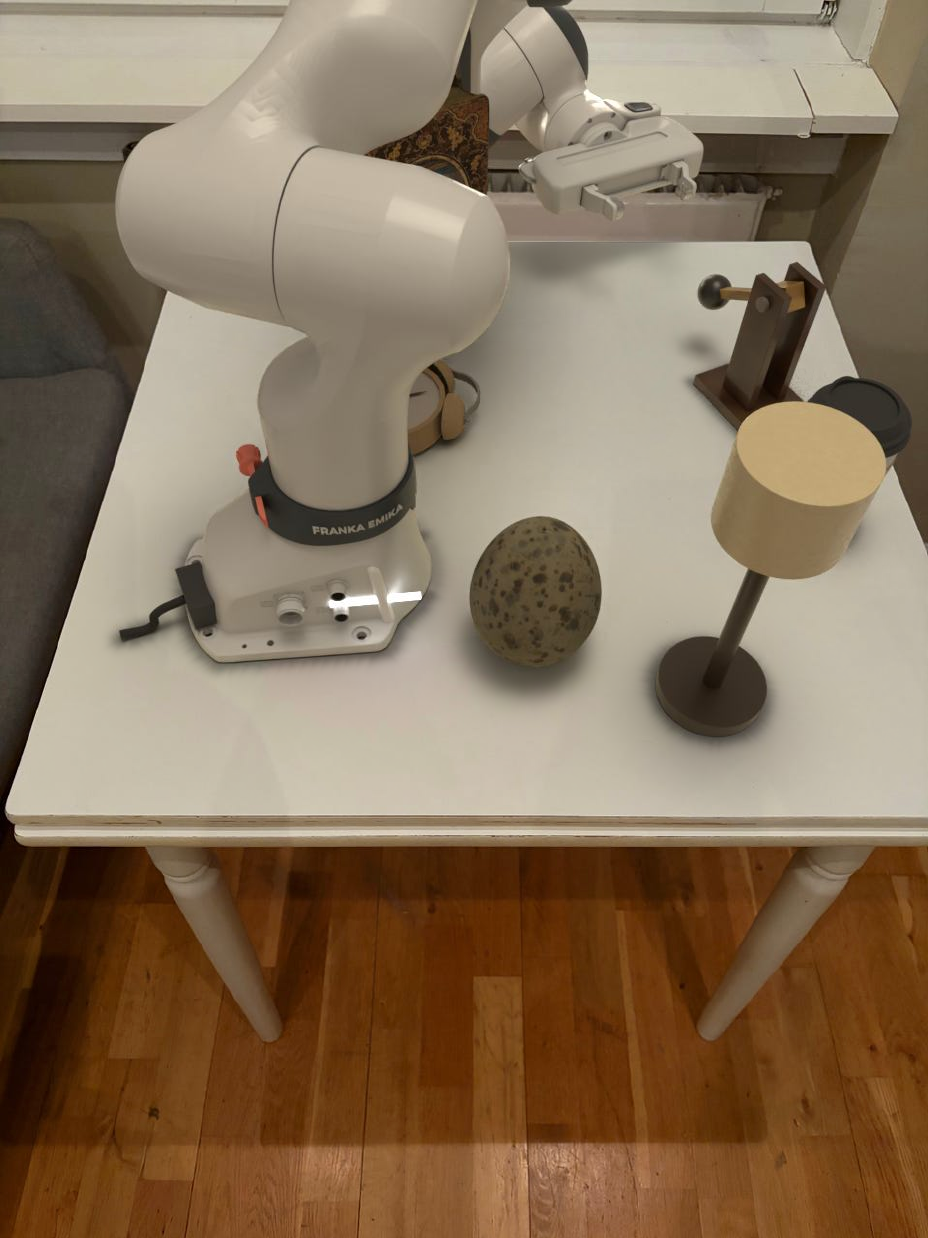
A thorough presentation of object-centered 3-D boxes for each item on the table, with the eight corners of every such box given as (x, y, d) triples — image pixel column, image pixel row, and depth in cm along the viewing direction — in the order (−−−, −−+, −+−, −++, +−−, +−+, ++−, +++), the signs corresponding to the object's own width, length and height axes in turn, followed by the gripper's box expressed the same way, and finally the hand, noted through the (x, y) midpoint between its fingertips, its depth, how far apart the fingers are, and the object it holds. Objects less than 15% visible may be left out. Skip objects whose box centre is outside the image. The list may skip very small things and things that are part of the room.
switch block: (693, 383, 103) (725, 262, 91) (752, 362, 105) (791, 242, 93) (748, 441, 98) (790, 321, 86) (809, 418, 100) (858, 298, 88)
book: (357, 364, 104) (335, 138, 84) (335, 336, 107) (308, 111, 87) (483, 316, 109) (491, 92, 89) (458, 291, 112) (460, 68, 92)
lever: (692, 312, 102) (688, 278, 101) (719, 303, 103) (716, 269, 102) (781, 321, 90) (779, 282, 89) (811, 311, 91) (809, 272, 90)
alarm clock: (324, 374, 99) (461, 332, 99) (337, 408, 103) (468, 368, 103) (343, 449, 92) (489, 404, 92) (356, 482, 96) (496, 439, 97)
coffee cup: (878, 528, 91) (945, 410, 79) (812, 569, 88) (871, 452, 76) (809, 471, 95) (862, 351, 83) (744, 508, 92) (789, 389, 80)
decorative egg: (557, 714, 79) (578, 607, 67) (445, 660, 82) (445, 548, 70) (610, 622, 84) (638, 508, 72) (503, 575, 87) (512, 458, 75)
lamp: (681, 748, 77) (779, 519, 54) (638, 659, 82) (711, 415, 59) (780, 721, 79) (916, 488, 56) (732, 636, 84) (839, 389, 61)
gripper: (513, 136, 106) (576, 198, 98) (666, 98, 111) (736, 154, 104) (510, 190, 111) (570, 252, 104) (656, 151, 116) (723, 208, 109)
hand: (654, 203), depth 104 cm, fingers open, 8 cm apart
